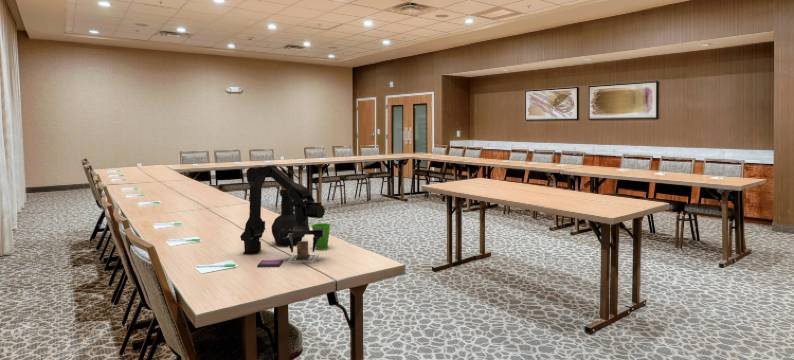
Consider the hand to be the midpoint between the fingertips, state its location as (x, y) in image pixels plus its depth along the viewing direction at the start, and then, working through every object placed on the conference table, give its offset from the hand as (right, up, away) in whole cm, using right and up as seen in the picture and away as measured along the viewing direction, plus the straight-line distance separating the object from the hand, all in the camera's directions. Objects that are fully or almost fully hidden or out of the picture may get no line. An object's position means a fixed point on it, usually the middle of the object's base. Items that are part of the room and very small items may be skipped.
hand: (302, 252), depth 211 cm
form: (0, -3, 0) cm, 3 cm away
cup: (+5, -1, +18) cm, 19 cm away
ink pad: (-12, -4, -7) cm, 15 cm away
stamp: (0, -3, 0) cm, 3 cm away
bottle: (-12, 0, +28) cm, 31 cm away
